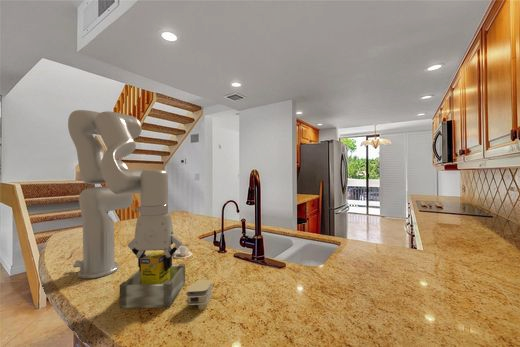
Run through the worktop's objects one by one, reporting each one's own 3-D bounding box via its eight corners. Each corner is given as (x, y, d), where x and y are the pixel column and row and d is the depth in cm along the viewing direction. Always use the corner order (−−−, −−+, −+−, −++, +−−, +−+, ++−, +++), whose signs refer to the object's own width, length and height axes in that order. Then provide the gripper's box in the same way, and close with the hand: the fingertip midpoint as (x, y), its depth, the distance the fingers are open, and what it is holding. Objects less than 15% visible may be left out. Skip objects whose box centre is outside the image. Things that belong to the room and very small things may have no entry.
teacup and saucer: (170, 255, 102) (170, 246, 102) (187, 251, 107) (187, 242, 107) (177, 260, 96) (177, 251, 96) (195, 256, 101) (195, 247, 101)
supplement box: (160, 296, 65) (158, 258, 65) (141, 295, 66) (139, 258, 66) (171, 286, 71) (169, 251, 71) (154, 285, 72) (152, 251, 72)
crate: (119, 308, 62) (119, 285, 62) (143, 283, 75) (143, 264, 75) (170, 307, 62) (170, 284, 62) (185, 282, 76) (184, 263, 76)
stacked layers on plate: (193, 294, 70) (193, 276, 70) (221, 296, 68) (221, 278, 68) (175, 314, 60) (175, 293, 60) (207, 318, 58) (207, 296, 58)
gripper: (118, 213, 65) (119, 275, 65) (179, 212, 65) (180, 274, 65) (132, 208, 72) (132, 264, 72) (187, 208, 73) (187, 263, 73)
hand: (155, 268), depth 69 cm, fingers closed on supplement box, 6 cm apart
